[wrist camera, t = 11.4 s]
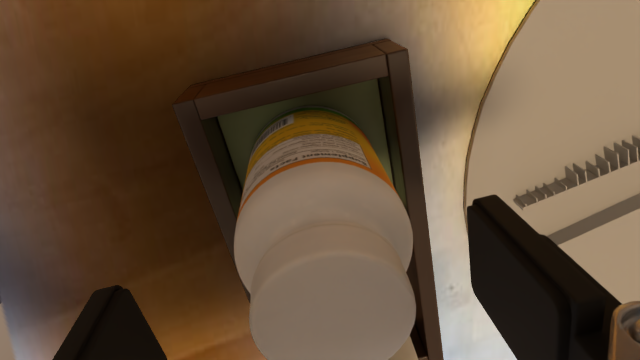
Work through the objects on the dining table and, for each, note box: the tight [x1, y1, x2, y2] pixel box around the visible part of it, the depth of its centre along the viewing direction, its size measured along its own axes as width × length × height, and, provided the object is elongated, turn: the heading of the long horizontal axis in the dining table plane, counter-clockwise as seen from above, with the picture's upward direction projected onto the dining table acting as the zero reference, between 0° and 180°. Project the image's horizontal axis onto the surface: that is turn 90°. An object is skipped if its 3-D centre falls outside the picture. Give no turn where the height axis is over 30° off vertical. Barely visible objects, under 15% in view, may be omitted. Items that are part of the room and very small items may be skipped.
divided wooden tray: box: [172, 39, 444, 360], centre depth 19 cm, size 9×16×3 cm, turn 12°
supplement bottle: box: [234, 105, 416, 360], centre depth 14 cm, size 5×5×10 cm
